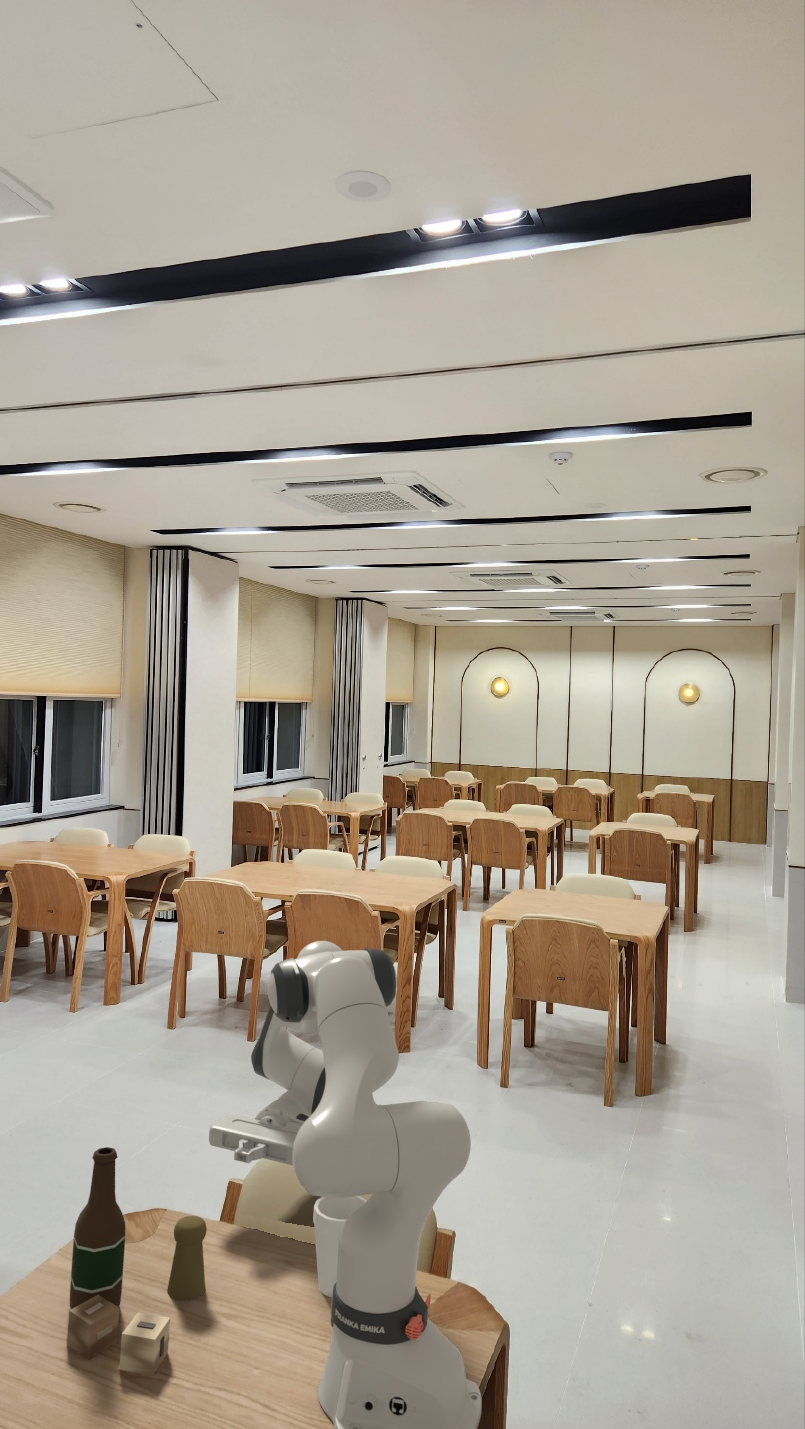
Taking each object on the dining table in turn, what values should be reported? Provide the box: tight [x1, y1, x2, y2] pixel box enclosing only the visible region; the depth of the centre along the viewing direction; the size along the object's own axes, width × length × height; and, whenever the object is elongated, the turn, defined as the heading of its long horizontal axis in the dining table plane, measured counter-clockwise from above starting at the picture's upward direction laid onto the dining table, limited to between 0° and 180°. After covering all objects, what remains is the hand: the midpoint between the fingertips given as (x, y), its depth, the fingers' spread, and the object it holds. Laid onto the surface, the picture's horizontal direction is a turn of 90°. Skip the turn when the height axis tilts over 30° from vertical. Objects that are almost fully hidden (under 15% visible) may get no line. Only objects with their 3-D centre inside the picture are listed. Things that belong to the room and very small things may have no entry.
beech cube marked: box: [118, 1312, 171, 1377], centre depth 129 cm, size 5×5×5 cm
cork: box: [166, 1215, 208, 1301], centre depth 146 cm, size 6×6×11 cm
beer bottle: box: [69, 1146, 126, 1310], centre depth 141 cm, size 8×8×24 cm
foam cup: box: [312, 1195, 368, 1298], centre depth 149 cm, size 10×9×13 cm
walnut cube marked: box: [66, 1295, 120, 1361], centre depth 132 cm, size 5×5×5 cm
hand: (241, 1157), depth 162 cm, fingers closed
